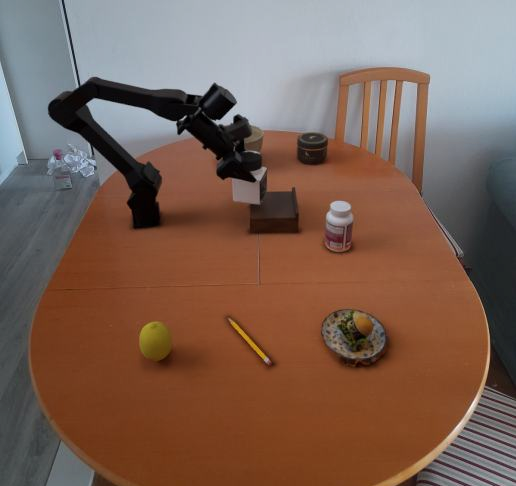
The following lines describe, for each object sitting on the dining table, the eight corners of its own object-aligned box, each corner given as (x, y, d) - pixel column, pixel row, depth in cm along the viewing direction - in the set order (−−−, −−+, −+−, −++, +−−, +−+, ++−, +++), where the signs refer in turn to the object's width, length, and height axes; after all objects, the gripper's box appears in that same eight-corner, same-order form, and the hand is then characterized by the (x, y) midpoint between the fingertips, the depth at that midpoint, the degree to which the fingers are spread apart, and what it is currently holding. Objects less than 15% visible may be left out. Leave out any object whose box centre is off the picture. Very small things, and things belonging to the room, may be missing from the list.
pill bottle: (342, 235, 110) (346, 196, 104) (355, 249, 105) (360, 209, 99) (320, 240, 108) (322, 201, 103) (332, 255, 103) (335, 215, 98)
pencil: (268, 366, 77) (268, 363, 76) (226, 320, 86) (226, 317, 86) (272, 364, 77) (272, 361, 77) (229, 318, 87) (229, 315, 86)
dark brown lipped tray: (250, 233, 111) (249, 214, 108) (250, 205, 123) (250, 187, 120) (298, 232, 111) (298, 213, 108) (294, 205, 122) (294, 187, 120)
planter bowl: (264, 174, 138) (263, 142, 133) (212, 175, 139) (209, 143, 133) (264, 152, 152) (263, 123, 147) (217, 153, 153) (215, 123, 148)
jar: (292, 162, 145) (293, 141, 142) (301, 150, 153) (302, 130, 150) (322, 167, 142) (323, 145, 138) (330, 154, 150) (331, 133, 146)
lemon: (167, 372, 76) (161, 339, 72) (137, 367, 77) (130, 334, 73) (179, 347, 81) (174, 314, 77) (150, 342, 82) (144, 310, 78)
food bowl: (334, 307, 89) (337, 278, 85) (394, 329, 83) (399, 299, 80) (309, 349, 80) (311, 319, 76) (374, 378, 74) (379, 346, 71)
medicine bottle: (260, 205, 110) (260, 161, 104) (232, 201, 111) (230, 158, 106) (267, 191, 116) (267, 149, 110) (240, 188, 118) (239, 146, 112)
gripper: (228, 124, 94) (280, 169, 99) (232, 96, 110) (277, 137, 116) (194, 158, 98) (246, 200, 103) (203, 126, 114) (247, 164, 120)
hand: (255, 173), depth 110 cm, fingers closed on medicine bottle, 8 cm apart
